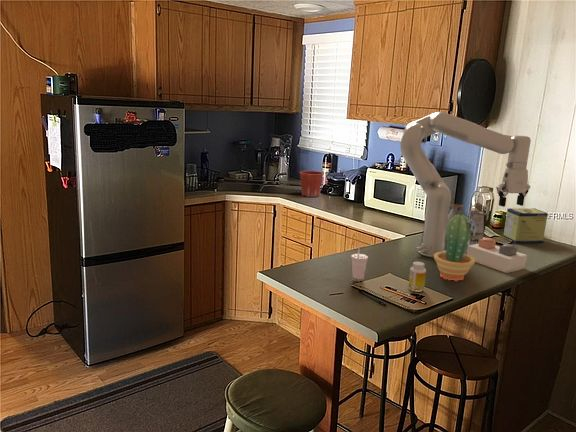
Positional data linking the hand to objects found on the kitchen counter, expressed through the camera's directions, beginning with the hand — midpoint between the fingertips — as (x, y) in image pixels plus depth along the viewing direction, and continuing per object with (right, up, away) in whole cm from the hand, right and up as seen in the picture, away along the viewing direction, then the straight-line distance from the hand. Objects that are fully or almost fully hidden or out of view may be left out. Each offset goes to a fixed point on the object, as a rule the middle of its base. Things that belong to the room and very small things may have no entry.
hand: (510, 205), depth 208 cm
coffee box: (-6, -19, +26) cm, 33 cm away
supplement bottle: (-49, -31, -32) cm, 66 cm away
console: (-7, -25, 0) cm, 26 cm away
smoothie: (-69, -29, -24) cm, 79 cm away
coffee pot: (-6, -12, +51) cm, 53 cm away
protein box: (+23, -17, +37) cm, 47 cm away
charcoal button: (-4, -23, -5) cm, 23 cm away
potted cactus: (-31, -28, -17) cm, 45 cm away
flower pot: (-80, +9, +128) cm, 151 cm away
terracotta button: (-9, -20, +4) cm, 23 cm away
